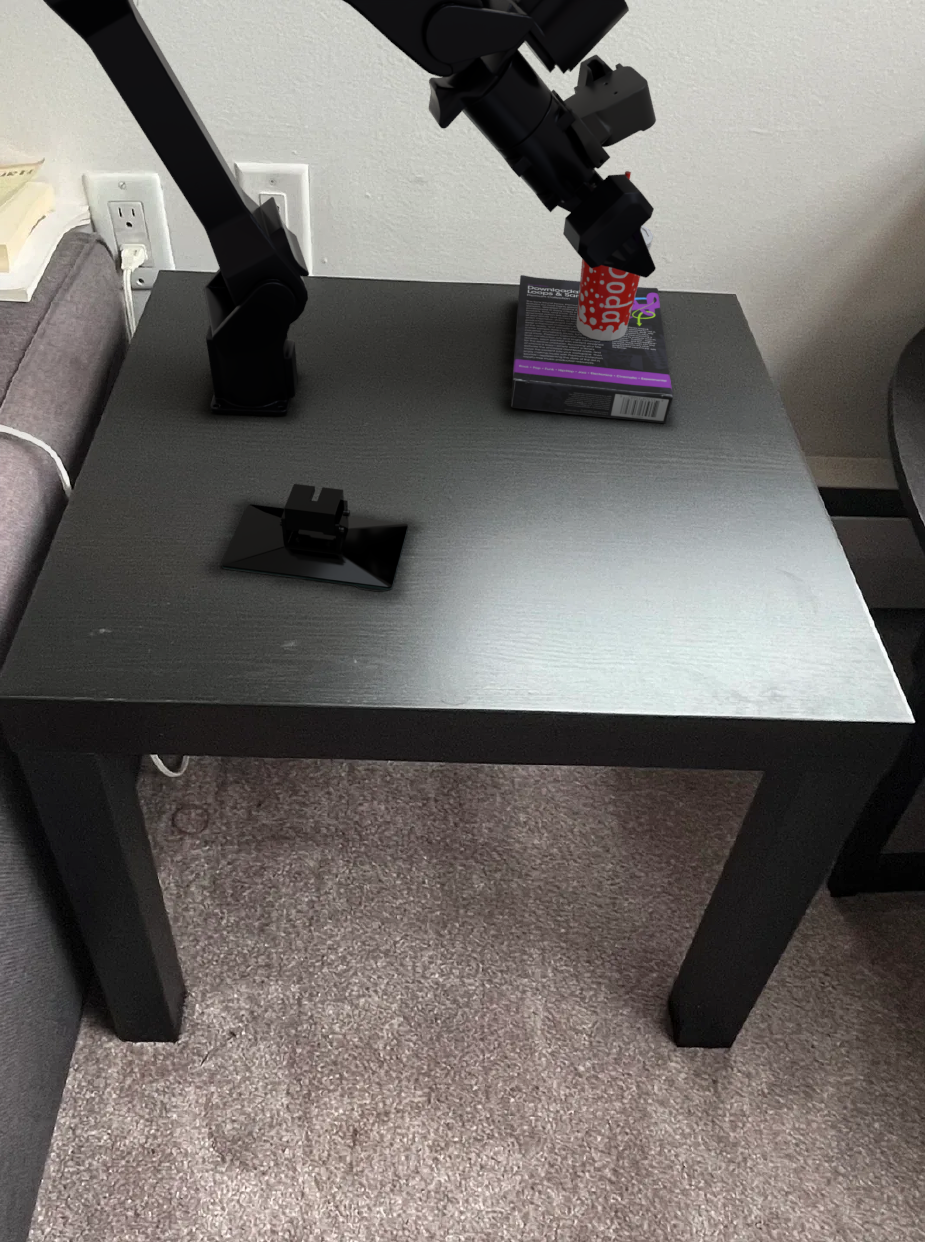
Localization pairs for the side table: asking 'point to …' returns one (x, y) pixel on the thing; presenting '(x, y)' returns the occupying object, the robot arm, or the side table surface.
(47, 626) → the side table surface
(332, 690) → the side table surface
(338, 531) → the build plate
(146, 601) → the side table surface
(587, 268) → the beverage cup
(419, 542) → the side table surface
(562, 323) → the box
